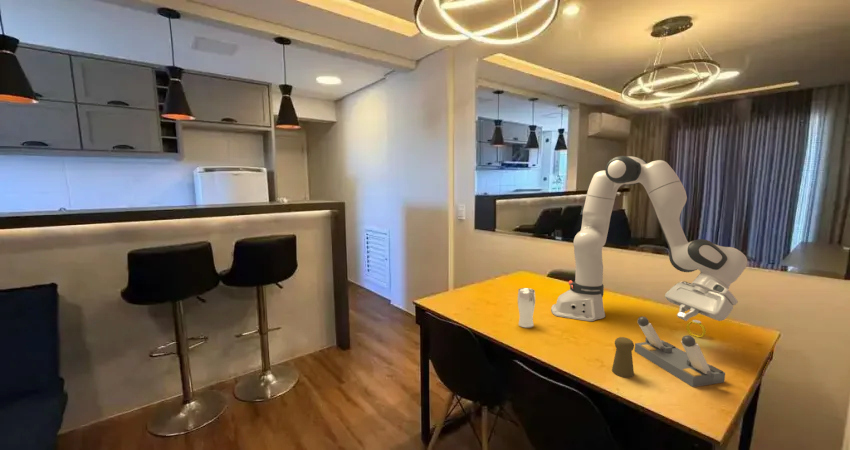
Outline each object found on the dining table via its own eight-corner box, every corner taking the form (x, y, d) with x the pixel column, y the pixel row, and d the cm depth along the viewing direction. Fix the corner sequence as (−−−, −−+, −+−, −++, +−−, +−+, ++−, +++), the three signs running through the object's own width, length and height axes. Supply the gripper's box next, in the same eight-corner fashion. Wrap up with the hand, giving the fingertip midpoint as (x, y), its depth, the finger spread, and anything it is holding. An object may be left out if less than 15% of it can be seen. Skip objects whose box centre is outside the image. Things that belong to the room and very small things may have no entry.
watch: (705, 338, 133) (708, 324, 132) (701, 340, 132) (703, 325, 131) (688, 331, 138) (691, 317, 137) (684, 333, 137) (686, 318, 136)
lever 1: (654, 339, 123) (637, 311, 121) (668, 347, 117) (651, 318, 115) (647, 345, 123) (630, 317, 120) (661, 353, 117) (644, 324, 115)
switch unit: (661, 348, 126) (662, 335, 125) (732, 386, 102) (733, 371, 101) (634, 351, 124) (634, 338, 123) (699, 391, 100) (700, 376, 99)
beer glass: (535, 323, 149) (536, 288, 148) (533, 329, 143) (534, 293, 141) (519, 320, 152) (519, 287, 151) (516, 327, 146) (516, 291, 144)
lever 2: (697, 362, 108) (681, 329, 105) (716, 372, 102) (700, 338, 99) (689, 368, 107) (673, 335, 105) (708, 379, 101) (691, 344, 99)
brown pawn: (607, 368, 113) (609, 335, 112) (625, 366, 114) (627, 334, 112) (619, 378, 107) (621, 344, 106) (638, 377, 108) (640, 342, 106)
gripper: (676, 274, 131) (651, 302, 130) (732, 291, 111) (704, 324, 110) (685, 285, 132) (661, 313, 131) (743, 303, 112) (715, 336, 111)
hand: (681, 318), depth 121 cm, fingers closed
